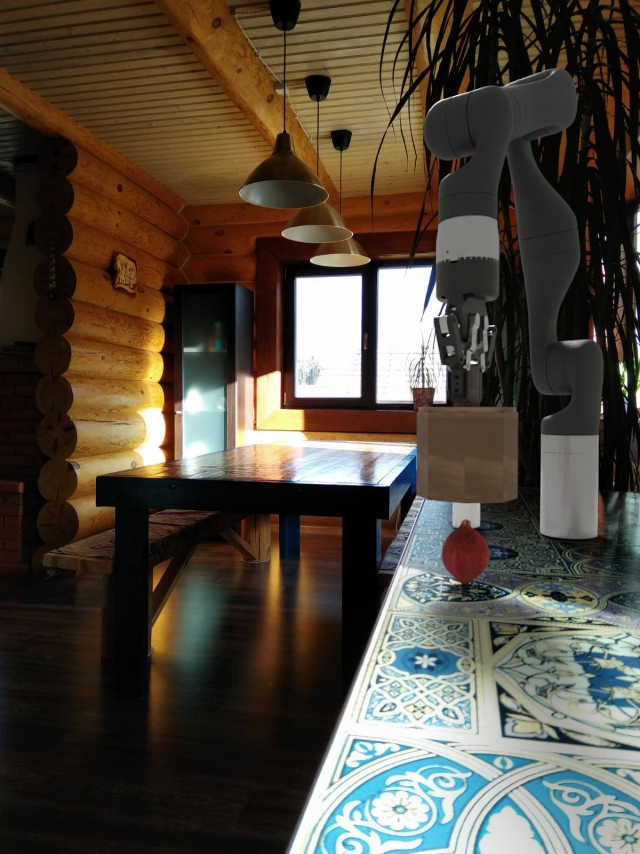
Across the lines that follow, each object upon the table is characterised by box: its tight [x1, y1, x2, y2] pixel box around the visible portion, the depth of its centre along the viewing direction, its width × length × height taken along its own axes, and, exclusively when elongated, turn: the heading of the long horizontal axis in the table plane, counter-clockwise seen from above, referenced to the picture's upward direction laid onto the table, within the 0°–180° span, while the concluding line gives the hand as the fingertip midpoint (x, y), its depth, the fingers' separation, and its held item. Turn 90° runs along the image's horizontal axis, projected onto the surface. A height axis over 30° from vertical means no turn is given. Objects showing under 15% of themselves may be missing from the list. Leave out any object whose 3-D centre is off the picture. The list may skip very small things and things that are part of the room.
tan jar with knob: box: [415, 366, 519, 504], centre depth 80 cm, size 12×12×16 cm
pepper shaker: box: [451, 502, 481, 529], centre depth 118 cm, size 4×4×10 cm
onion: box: [441, 519, 491, 585], centre depth 80 cm, size 6×6×8 cm
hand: (466, 402), depth 79 cm, fingers closed on tan jar with knob, 3 cm apart
